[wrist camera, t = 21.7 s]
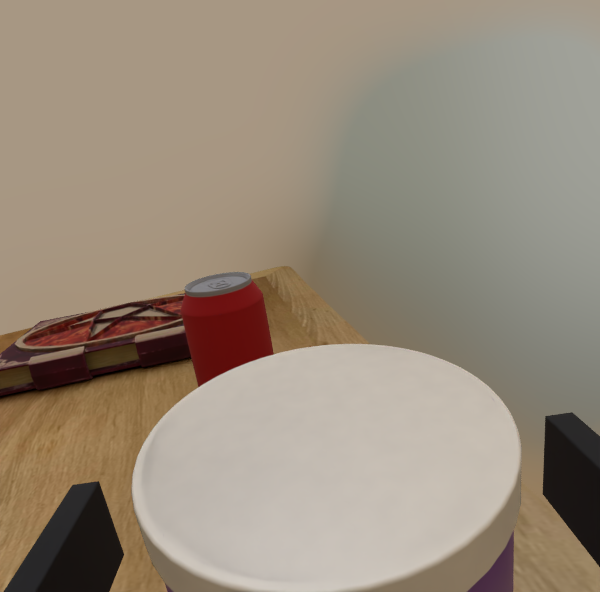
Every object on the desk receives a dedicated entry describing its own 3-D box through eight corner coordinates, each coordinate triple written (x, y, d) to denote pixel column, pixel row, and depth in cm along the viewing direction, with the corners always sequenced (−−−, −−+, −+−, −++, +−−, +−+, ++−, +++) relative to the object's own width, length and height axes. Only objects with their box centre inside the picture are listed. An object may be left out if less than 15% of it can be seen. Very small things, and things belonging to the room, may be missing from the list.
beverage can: (264, 382, 43) (241, 265, 39) (295, 412, 37) (273, 278, 33) (197, 408, 40) (167, 284, 36) (220, 444, 34) (187, 301, 30)
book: (230, 303, 71) (224, 274, 70) (240, 349, 51) (232, 309, 50) (48, 339, 67) (37, 309, 65) (-20, 405, 47) (-36, 363, 45)
